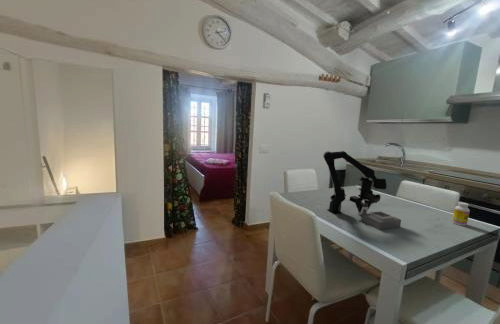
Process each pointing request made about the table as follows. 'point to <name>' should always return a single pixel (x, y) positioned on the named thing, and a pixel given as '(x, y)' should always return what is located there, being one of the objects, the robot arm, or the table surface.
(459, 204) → the supplement bottle
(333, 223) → the table surface
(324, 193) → the table surface
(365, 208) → the lens
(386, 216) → the grey flat block
